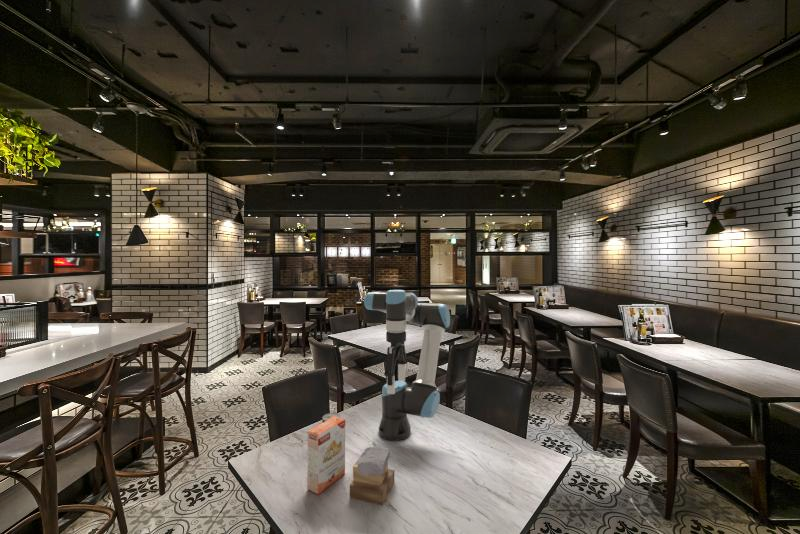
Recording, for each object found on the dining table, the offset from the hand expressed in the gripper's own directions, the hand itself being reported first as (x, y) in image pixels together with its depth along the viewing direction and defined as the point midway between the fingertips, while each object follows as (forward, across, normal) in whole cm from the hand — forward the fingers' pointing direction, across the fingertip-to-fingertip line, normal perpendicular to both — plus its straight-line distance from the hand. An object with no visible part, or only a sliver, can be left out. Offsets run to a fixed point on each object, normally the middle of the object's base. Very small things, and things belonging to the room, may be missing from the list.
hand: (396, 386), depth 124 cm
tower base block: (+33, -11, +5) cm, 36 cm away
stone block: (+24, -12, +5) cm, 27 cm away
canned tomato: (+33, +13, +35) cm, 50 cm away
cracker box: (+33, -12, +23) cm, 42 cm away
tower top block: (+28, -11, +6) cm, 31 cm away
